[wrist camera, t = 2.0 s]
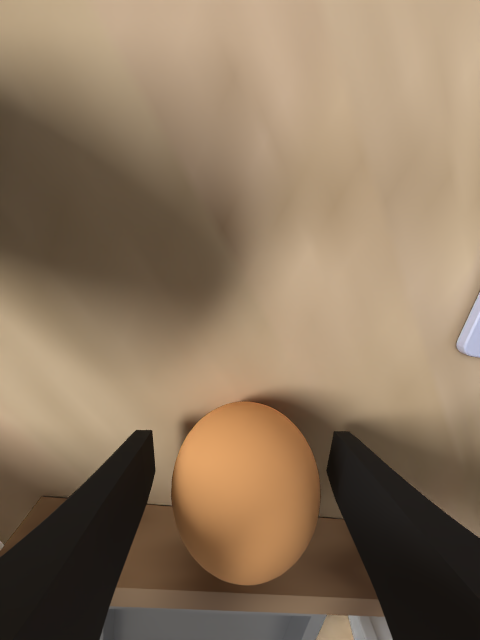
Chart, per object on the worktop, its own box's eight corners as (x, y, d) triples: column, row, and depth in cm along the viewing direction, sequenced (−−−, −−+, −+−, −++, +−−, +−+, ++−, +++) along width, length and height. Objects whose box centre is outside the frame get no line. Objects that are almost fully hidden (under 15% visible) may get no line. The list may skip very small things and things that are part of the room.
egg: (307, 384, 10) (379, 506, 5) (283, 472, 11) (321, 632, 7) (192, 369, 10) (155, 488, 5) (181, 462, 11) (143, 626, 6)
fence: (385, 522, 13) (431, 601, 10) (378, 537, 13) (420, 618, 10) (41, 496, 11) (-24, 581, 8) (43, 514, 12) (-19, 601, 9)
